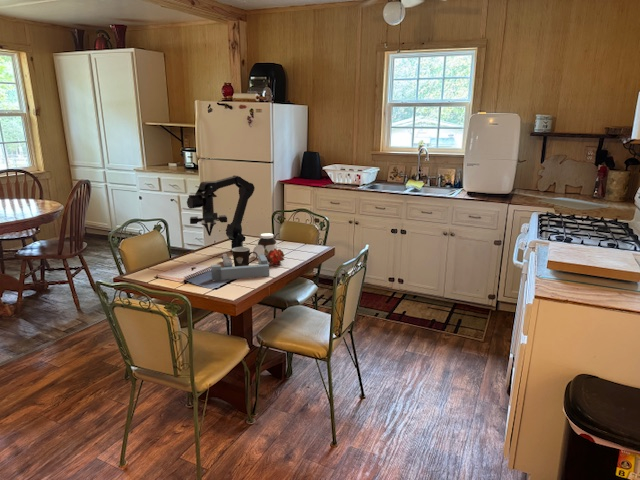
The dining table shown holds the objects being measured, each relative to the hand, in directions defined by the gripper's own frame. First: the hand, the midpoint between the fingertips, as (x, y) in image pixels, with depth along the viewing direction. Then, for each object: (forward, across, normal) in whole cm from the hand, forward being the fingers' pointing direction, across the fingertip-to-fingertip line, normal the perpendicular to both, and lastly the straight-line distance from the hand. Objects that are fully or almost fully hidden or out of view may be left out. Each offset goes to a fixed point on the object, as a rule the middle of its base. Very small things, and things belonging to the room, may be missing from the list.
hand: (209, 235), depth 235 cm
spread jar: (+12, +28, -5) cm, 31 cm away
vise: (+12, +12, -31) cm, 35 cm away
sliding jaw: (+12, +7, -21) cm, 25 cm away
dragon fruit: (+12, +31, -21) cm, 39 cm away
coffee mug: (+12, +15, -25) cm, 31 cm away
